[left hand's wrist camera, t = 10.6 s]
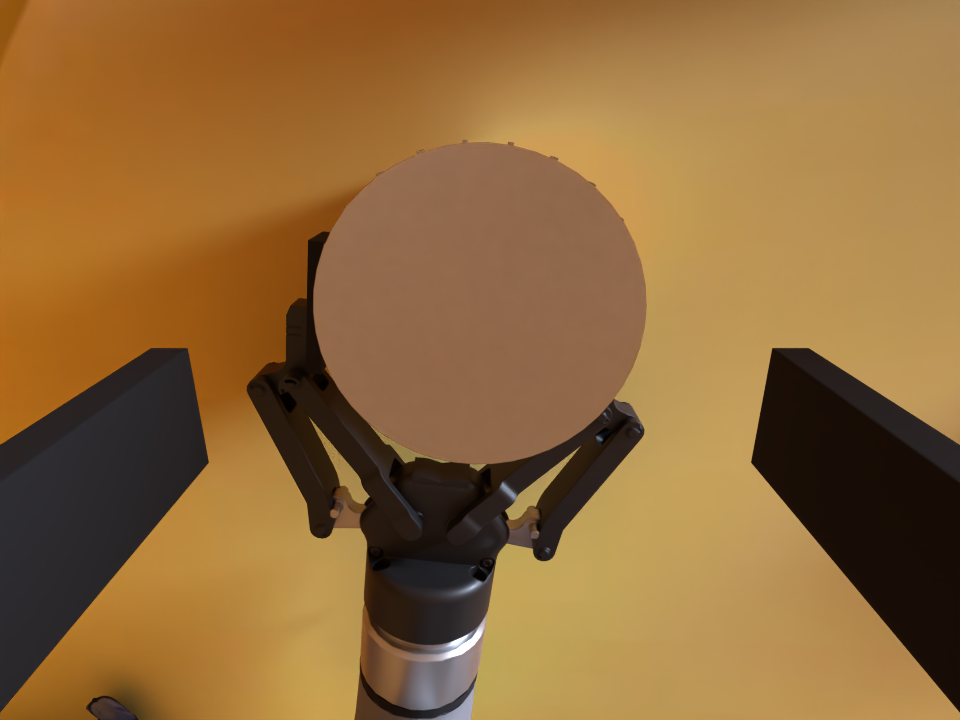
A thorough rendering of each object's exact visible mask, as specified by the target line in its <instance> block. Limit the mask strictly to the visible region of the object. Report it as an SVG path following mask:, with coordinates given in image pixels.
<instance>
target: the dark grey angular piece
mask: <svg viewBox="0 0 960 720" xmlns="http://www.w3.org/2000/svg"><path fill="white" fill-rule="evenodd" d="M86 709H87V710H88V711H90V713H91V714H93V715H94V716H95V717H97V718H98V720H138V719H137V717H136V716H135V715H133V714H131V713H130V712H129V711H128V710H127V709H126V708H125V707H124V706H123V705H122V704H120V703H119V702H118V701H117V700H115V699H114V698H112V697H108V696H101V697H98V698H93V699H92V701H91V702H90V703H89V704H88V705H87V707H86Z"/></svg>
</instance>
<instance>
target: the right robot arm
mask: <svg viewBox="0 0 960 720" xmlns="http://www.w3.org/2000/svg"><path fill="white" fill-rule="evenodd" d="M329 234H330V232H321V233H320V234H318V235H316V236H315V237H313V238H311V239H310V240H308V273H307V299H301V298H299V299H298V300H296V301H295V302H294V303H293V304H292V305H291V306H290V308H289V310H288V313H287V315H286V325H287V327H286V333H287V335H286V362H283V363H275V362H272V363H268V364H267V365H265V366H264V368H263V369H262V370H261V371H260V372H259V373H258V374H257V375H256V376H255V377H254V378H253V379H252V380H251V381H250V382H249V384H248V385H247V392H248V395H249V397H250V399H251V400H252V402H253V404H254V406H255V408H256V410H257V412H258V413H259V415H260V417H261V419H262V421H263V423H264V425H265V426H266V428H267V430H268V432H269V434H270V436H271V438H272V439H273V441H274V443H275V445H276V447H277V449H278V451H279V452H280V454H281V456H282V458H283V460H284V462H285V463H286V465H287V467H288V469H289V471H290V473H291V475H292V476H293V478H294V480H295V482H296V484H297V486H298V488H299V489H300V491H301V493H302V495H303V497H304V499H305V501H306V502H307V507H308V516H309V525H310V531H311V533H312V534H313V535H314V536H315V537H317V538H327V537H328V536H330V534H331V533H332V530H333V528H361V530H362V532H363V534H364V535H365V538H366V540H367V557H366V572H365V587H364V602H365V603H364V607H363V615H362V635H361V656H360V676H359V686H358V695H357V705H356V713H355V720H471V713H472V704H473V696H474V688H475V681H476V677H477V672H478V668H479V664H480V658H481V652H482V645H483V639H484V632H485V626H486V618H487V615H486V614H487V611H488V607H489V601H490V595H491V589H492V583H493V577H494V570H495V564H496V558H497V555H498V553H499V552H500V550H501V549H502V548H503V547H504V546H505V545H506V543H507V544H512V545H517V546H522V547H527V548H532V549H533V554H534V556H535V558H536V559H537V560H540V561H548V560H550V559H551V558H553V556H554V555H555V552H556V549H557V546H558V543H559V540H560V537H561V534H562V532H563V530H564V528H565V527H566V526H567V525H568V524H569V523H570V521H571V520H572V519H573V518H574V517H575V516H576V514H577V513H578V512H579V511H580V510H581V509H582V507H583V506H584V505H585V504H586V503H587V502H588V500H589V499H590V498H591V497H592V496H593V495H594V493H595V492H596V491H597V490H598V489H599V487H600V486H601V485H602V484H603V483H604V482H605V480H606V479H607V478H608V477H609V476H610V475H611V473H612V472H613V471H614V470H615V469H616V468H617V466H618V465H619V464H620V463H621V462H622V461H623V459H624V458H625V457H626V456H627V455H628V453H629V452H630V451H631V450H632V449H633V448H634V446H635V445H636V444H637V443H638V442H639V441H640V439H641V438H642V437H643V435H644V428H643V425H642V424H641V422H640V420H639V418H638V417H637V415H636V413H635V411H634V410H633V408H632V406H631V405H630V404H629V403H626V402H619V401H617V400H615V399H613V401H612V402H611V403H610V404H609V405H608V406H607V407H606V409H605V410H604V411H603V412H602V413H601V414H600V415H599V416H598V417H597V418H596V419H595V420H594V421H593V422H591V423H590V424H589V425H588V426H587V427H586V428H584V429H583V430H582V431H580V432H579V433H577V434H576V435H574V436H573V437H571V438H570V439H569V440H567V441H565V442H563V443H561V444H559V445H557V446H555V447H553V448H552V449H550V450H547V451H544V452H542V453H539V454H536V455H534V456H531V457H527V458H523V459H519V460H515V461H510V462H502V463H495V464H487V465H486V466H484V467H483V468H482V469H481V470H479V471H477V470H475V469H474V468H471V467H470V464H466V463H456V462H449V463H440V462H437V461H434V460H431V459H428V458H419V457H415V461H412V462H408V463H406V464H405V463H404V461H403V460H402V459H401V458H400V456H399V455H398V454H397V453H396V451H395V450H394V449H393V448H392V447H391V446H390V445H386V444H385V443H384V442H383V441H382V440H381V439H380V437H379V436H378V435H377V434H376V432H375V431H374V430H373V429H372V427H371V426H370V425H369V424H368V422H367V421H366V420H364V418H363V417H362V416H361V415H360V414H359V413H358V412H357V411H356V410H355V409H354V408H353V407H352V406H351V405H350V403H349V402H348V401H347V399H346V398H345V397H344V395H343V394H342V393H341V391H340V390H339V389H338V387H337V385H336V383H335V382H334V380H333V379H332V378H331V376H330V375H329V374H328V373H327V372H326V370H325V367H326V363H325V361H324V359H323V356H322V354H321V350H320V347H319V343H318V339H317V335H316V330H315V322H314V314H313V295H314V284H315V278H316V271H317V267H318V264H319V260H320V257H321V254H322V250H323V247H324V244H325V243H326V241H327V239H328V236H329ZM309 417H310V418H311V420H312V421H313V422H314V423H315V424H316V425H317V427H318V428H319V429H320V430H321V431H322V433H323V434H324V435H325V436H326V437H327V439H328V440H329V441H330V442H331V443H332V445H333V446H334V447H335V448H336V449H337V450H338V452H339V453H340V454H341V455H342V456H343V458H344V459H345V460H346V461H347V462H348V464H349V465H350V466H351V467H352V468H353V469H354V471H355V472H356V473H357V474H358V475H359V477H360V479H361V483H362V486H363V488H364V490H365V491H366V492H367V493H368V495H369V496H370V497H369V498H368V499H367V500H366V502H365V503H364V504H359V503H356V502H355V501H354V500H353V499H352V497H351V494H350V493H349V491H348V488H347V487H346V486H340V484H339V479H338V475H337V472H336V470H335V468H334V466H333V464H332V462H331V460H330V458H329V456H328V454H327V452H326V450H325V448H324V446H323V444H322V442H321V440H320V438H319V436H318V434H317V432H316V430H315V428H314V426H313V424H312V422H311V420H310V418H309ZM581 445H582V446H581ZM580 446H581V447H580ZM579 447H580V448H579ZM577 448H579V449H578V451H577V452H576V453H575V454H574V455H573V457H572V458H571V459H570V460H569V462H568V463H567V464H566V465H565V466H564V468H563V469H562V470H561V471H560V473H559V474H558V475H557V476H556V477H555V479H554V480H553V481H552V482H551V484H550V485H549V486H548V487H547V488H546V490H545V491H544V493H543V494H542V495H541V497H540V499H539V501H538V503H537V506H536V507H534V506H529V507H528V508H527V510H526V511H525V512H524V513H523V515H522V516H521V517H520V518H519V519H516V520H509V518H508V515H507V513H506V512H505V510H506V509H507V508H509V507H510V506H511V505H512V504H513V503H514V502H515V500H516V498H517V496H518V494H519V493H520V492H522V491H523V490H524V489H526V488H527V487H528V486H530V485H531V484H532V483H533V482H535V481H536V480H537V479H539V478H540V477H541V476H542V475H544V474H545V473H546V472H548V471H549V470H550V469H551V468H553V467H554V466H555V465H557V464H558V463H559V462H561V461H562V460H563V459H564V458H566V457H567V456H568V455H570V454H571V453H572V452H573V451H575V450H576V449H577Z"/></svg>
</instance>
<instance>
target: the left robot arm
mask: <svg viewBox="0 0 960 720" xmlns="http://www.w3.org/2000/svg"><path fill="white" fill-rule="evenodd" d="M208 463H209V461H208V455H207V450H206V445H205V439H204V434H203V428H202V423H201V418H200V412H199V407H198V401H197V396H196V391H195V385H194V380H193V375H192V369H191V364H190V358H189V353H188V348H151V349H149V350H148V351H146V352H145V353H143V354H142V355H140V356H138V357H137V358H135V359H134V360H132V361H131V362H129V363H128V364H126V365H124V366H123V367H121V368H120V369H118V370H117V371H115V372H113V373H112V374H110V375H109V376H107V377H106V378H104V379H103V380H101V381H99V382H98V383H96V384H95V385H93V386H92V387H90V388H88V389H87V390H85V391H84V392H82V393H81V394H79V395H78V396H76V397H74V398H73V399H71V400H70V401H68V402H67V403H65V404H63V405H62V406H60V407H59V408H57V409H56V410H54V411H53V412H51V413H49V414H48V415H46V416H45V417H43V418H42V419H40V420H39V421H37V422H35V423H34V424H32V425H31V426H29V427H28V428H26V429H24V430H23V431H21V432H20V433H18V434H17V435H15V436H14V437H12V438H10V439H9V440H7V441H6V442H4V443H3V444H1V445H0V712H1V711H2V710H3V708H4V707H5V706H6V705H7V704H8V702H9V701H10V700H11V699H12V698H13V696H14V695H15V694H16V693H17V692H18V690H19V689H20V688H21V687H22V686H23V684H24V683H25V682H26V681H27V680H28V678H29V677H30V676H31V675H32V674H33V672H34V671H35V670H36V669H37V668H38V666H39V665H40V664H41V663H42V662H43V661H44V659H45V658H46V657H47V656H48V655H49V653H50V652H51V651H52V650H53V649H54V647H55V646H56V645H57V644H58V643H59V641H60V640H61V639H62V638H63V637H64V635H65V634H66V633H67V632H68V631H69V629H70V628H71V627H72V626H73V625H74V623H75V622H76V621H77V620H78V619H79V617H80V616H81V615H82V614H83V613H84V611H85V610H86V609H87V608H88V607H89V605H90V604H91V603H92V602H93V601H94V599H95V598H96V597H97V596H98V595H99V593H100V592H101V591H102V590H103V589H104V587H105V586H106V585H107V584H108V583H109V581H110V580H111V579H112V578H113V577H114V575H115V574H116V573H117V572H118V571H119V569H120V568H121V567H122V566H123V565H124V563H125V562H126V561H127V560H128V559H129V558H130V556H131V555H132V554H133V553H134V552H135V550H136V549H137V548H138V547H139V546H140V544H141V543H142V542H143V541H144V540H145V538H146V537H147V536H148V535H149V534H150V532H151V531H152V530H153V529H154V528H155V526H156V525H157V524H158V523H159V522H160V520H161V519H162V518H163V517H164V516H165V514H166V513H167V512H168V511H169V510H170V508H171V507H172V506H173V505H174V504H175V502H176V501H177V500H178V499H179V498H180V496H181V495H182V494H183V493H184V492H185V490H186V489H187V488H188V487H189V486H190V484H191V483H192V482H193V481H194V480H195V478H196V477H197V476H198V475H199V474H200V472H201V471H202V470H203V469H204V468H205V466H206V465H207V464H208ZM751 463H752V464H753V465H754V466H755V468H756V469H757V470H758V471H759V472H760V474H761V475H762V476H763V477H764V478H765V480H766V481H767V482H768V483H769V484H770V486H771V487H772V488H773V489H774V490H775V492H776V493H777V494H778V495H779V496H780V498H781V499H782V500H783V501H784V502H785V504H786V505H787V506H788V507H789V508H790V510H791V511H792V512H793V513H794V514H795V516H796V517H797V518H798V519H799V520H800V522H801V523H802V524H803V525H804V526H805V528H806V529H807V530H808V531H809V532H810V534H811V535H812V536H813V537H814V538H815V540H816V541H817V542H818V543H819V544H820V546H821V547H822V548H823V549H824V550H825V552H826V553H827V554H828V555H829V556H830V558H831V559H832V560H833V561H834V562H835V563H836V565H837V566H838V567H839V568H840V569H841V571H842V572H843V573H844V574H845V575H846V577H847V578H848V579H849V580H850V581H851V583H852V584H853V585H854V586H855V587H856V589H857V590H858V591H859V592H860V593H861V595H862V596H863V597H864V598H865V599H866V601H867V602H868V603H869V604H870V605H871V607H872V608H873V609H874V610H875V611H876V613H877V614H878V615H879V616H880V617H881V619H882V620H883V621H884V622H885V623H886V625H887V626H888V627H889V628H890V629H891V631H892V632H893V633H894V634H895V635H896V637H897V638H898V639H899V640H900V641H901V643H902V644H903V645H904V646H905V647H906V649H907V650H908V651H909V652H910V653H911V655H912V656H913V657H914V658H915V659H916V661H917V662H918V663H919V664H920V665H921V666H922V668H923V669H924V670H925V671H926V672H927V674H928V675H929V676H930V677H931V678H932V680H933V681H934V682H935V683H936V684H937V686H938V687H939V688H940V689H941V690H942V692H943V693H944V694H945V695H946V696H947V698H948V699H949V700H950V701H951V702H952V704H953V705H954V706H955V707H956V708H957V710H958V711H959V712H960V445H959V444H957V443H956V442H954V441H953V440H951V439H950V438H948V437H946V436H945V435H943V434H942V433H940V432H939V431H937V430H936V429H934V428H932V427H931V426H929V425H928V424H926V423H925V422H923V421H921V420H920V419H918V418H917V417H915V416H914V415H912V414H911V413H909V412H907V411H906V410H904V409H903V408H901V407H900V406H898V405H897V404H895V403H893V402H892V401H890V400H889V399H887V398H886V397H884V396H882V395H881V394H879V393H878V392H876V391H875V390H873V389H872V388H870V387H868V386H867V385H865V384H864V383H862V382H861V381H859V380H857V379H856V378H854V377H853V376H851V375H850V374H848V373H847V372H845V371H843V370H842V369H840V368H839V367H837V366H836V365H834V364H832V363H831V362H829V361H828V360H826V359H825V358H823V357H822V356H820V355H818V354H817V353H815V352H814V351H812V350H811V349H809V348H772V353H771V358H770V364H769V369H768V375H767V380H766V385H765V391H764V396H763V401H762V407H761V412H760V418H759V423H758V428H757V434H756V439H755V445H754V450H753V455H752V461H751Z"/></svg>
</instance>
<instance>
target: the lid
mask: <svg viewBox="0 0 960 720" xmlns="http://www.w3.org/2000/svg"><path fill="white" fill-rule="evenodd" d="M513 145H514V143H513V142H508V145H507V144H499V143H490V142H471V143H467V140H463V143H460V144H454V145H448V146H442V147H439V148H435V149H432V150H429V151H426V152H424V150H419V151H417V155H414V156H412V157H410V158H408V159H406V160H404V161H402V162H399V163H397V164H396V165H394V166H392V167H391V168H389V169H388V170H386V171H382V172H379V173H378V174H376V175H377V177H376V178H375V179H374V180H372V181H371V182H370V183H369V184H368V185H367V186H366V187H364V188H363V189H362V190H361V191H360V192H359V193H358V194H357V195H356V196H355V198H354V199H353V200H352V201H351V202H350V203H349V204H347V205H346V206H345V207H344V208H345V209H344V211H343V212H342V214H341V215H340V217H339V219H338V220H337V222H336V223H335V225H334V226H333V228H332V230H331V232H330V234H329V236H328V239H327V241H326V243H325V244H324V247H323V250H322V254H321V257H320V260H319V264H318V267H317V271H316V278H315V284H314V295H313V314H314V322H315V330H316V335H317V339H318V343H319V347H320V350H321V354H322V356H323V359H324V361H325V363H326V366H327V368H328V371H329V373H330V374H331V376H332V378H333V380H334V382H335V383H336V385H337V387H338V389H339V390H340V391H341V393H342V394H343V395H344V397H345V398H346V399H347V401H348V402H349V403H350V405H351V406H352V407H353V408H354V409H355V410H356V411H357V412H358V413H359V414H360V415H361V416H362V417H363V418H364V420H366V421H367V422H368V423H369V424H371V425H372V426H373V427H374V428H375V429H377V430H378V431H379V432H380V433H382V434H384V435H385V436H387V437H388V438H390V439H391V440H393V441H395V442H396V443H398V444H400V445H402V446H404V447H406V448H408V449H411V450H413V451H415V452H418V453H421V454H423V455H426V456H429V457H432V458H436V459H441V460H445V461H450V462H456V463H466V464H495V463H502V462H510V461H515V460H519V459H523V458H527V457H531V456H534V455H536V454H539V453H542V452H544V451H547V450H550V449H552V448H553V447H555V446H557V445H559V444H561V443H563V442H565V441H567V440H569V439H570V438H571V437H573V436H574V435H576V434H577V433H579V432H580V431H582V430H583V429H584V428H586V427H587V426H588V425H589V424H590V423H591V422H593V421H594V420H595V419H596V418H597V417H598V416H599V415H600V414H601V413H602V412H603V411H604V410H605V409H606V407H607V406H608V405H609V404H610V403H611V402H612V401H613V399H614V398H615V396H616V395H617V393H618V392H619V391H620V389H621V388H622V386H623V385H624V383H625V381H626V379H627V377H628V375H629V373H630V371H631V370H632V368H633V365H634V363H635V360H636V357H637V355H638V352H639V349H640V346H641V341H642V337H643V332H644V328H645V318H646V287H645V280H644V275H643V270H642V264H641V261H640V258H639V255H638V252H637V249H636V246H635V243H634V241H633V239H632V237H631V235H630V233H629V231H628V229H627V227H626V225H625V223H624V222H623V221H624V220H623V218H621V217H620V216H619V215H618V213H617V212H616V210H615V209H614V208H613V206H612V205H611V204H610V202H609V201H608V200H607V199H606V198H605V197H604V196H603V195H602V194H601V193H600V192H599V191H598V190H597V188H596V187H595V186H596V185H595V184H594V183H592V182H589V181H587V180H586V179H584V178H583V177H582V176H581V175H579V174H578V173H577V172H575V171H573V170H572V169H570V168H568V167H567V166H565V165H563V164H562V163H560V162H558V158H556V157H553V156H550V158H549V157H547V156H545V155H542V154H540V153H538V152H535V151H531V150H527V149H524V148H520V147H516V146H513Z"/></svg>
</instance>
